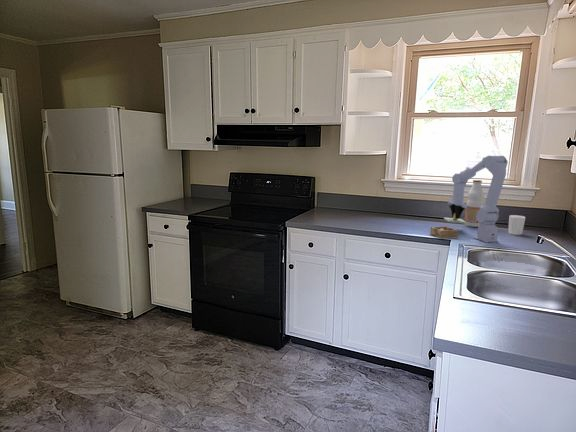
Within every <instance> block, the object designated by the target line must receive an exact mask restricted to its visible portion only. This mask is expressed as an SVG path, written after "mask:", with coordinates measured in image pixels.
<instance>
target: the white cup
mask: <svg viewBox="0 0 576 432" xmlns="http://www.w3.org/2000/svg"><path fill="white" fill-rule="evenodd" d="M508 218H509V219H508V234H509V235H514V236H522V235H523V231H524V227H525V221H526V216H524V215H517V214H510V215H509V217H508Z"/></svg>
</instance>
